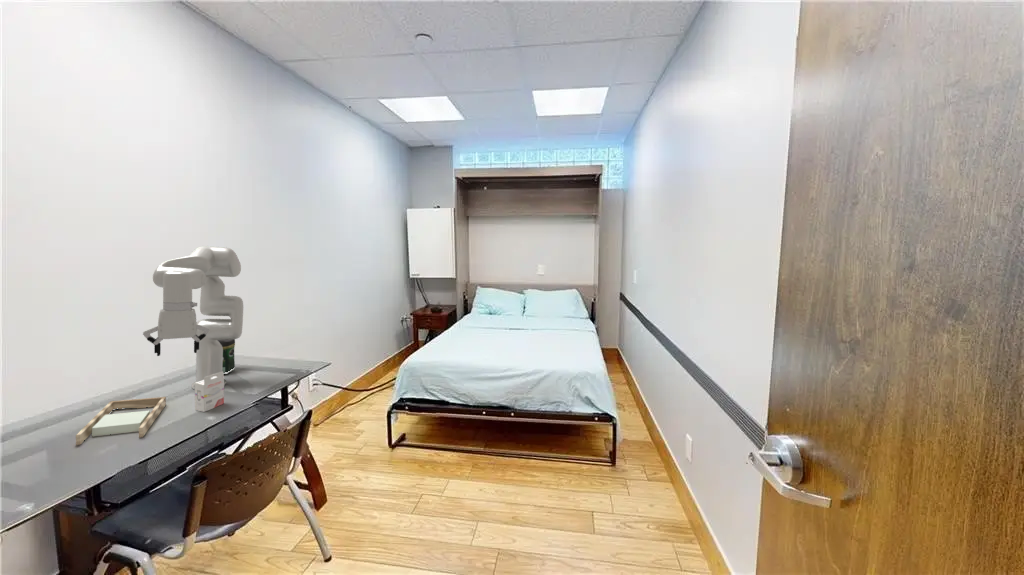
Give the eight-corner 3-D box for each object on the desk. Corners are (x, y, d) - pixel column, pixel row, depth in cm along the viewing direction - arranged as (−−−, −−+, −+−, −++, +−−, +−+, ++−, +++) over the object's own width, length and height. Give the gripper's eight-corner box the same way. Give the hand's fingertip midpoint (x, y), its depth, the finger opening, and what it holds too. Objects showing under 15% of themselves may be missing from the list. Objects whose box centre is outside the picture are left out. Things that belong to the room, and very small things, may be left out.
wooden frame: (110, 409, 143) (110, 401, 143) (165, 404, 151) (165, 396, 151) (76, 445, 121) (75, 435, 121) (142, 437, 129) (142, 427, 129)
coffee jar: (220, 368, 191) (220, 334, 189) (237, 369, 193) (238, 335, 191) (208, 375, 182) (209, 339, 180) (226, 376, 183) (227, 340, 181)
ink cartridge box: (214, 401, 158) (215, 368, 157) (224, 403, 157) (225, 370, 156) (193, 410, 150) (194, 375, 148) (203, 412, 149) (204, 377, 147)
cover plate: (105, 423, 135) (105, 414, 134) (149, 419, 141) (149, 410, 140) (92, 437, 126) (91, 428, 126) (140, 432, 132) (140, 423, 132)
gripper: (209, 303, 137) (208, 347, 140) (143, 304, 126) (144, 352, 128) (210, 307, 132) (209, 353, 134) (141, 309, 120) (142, 359, 123)
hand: (177, 353), depth 131 cm, fingers open, 9 cm apart
